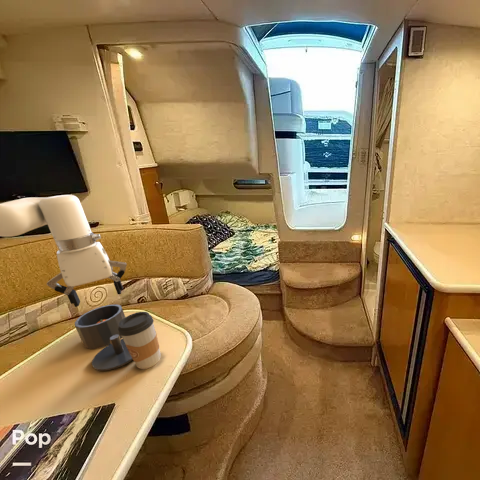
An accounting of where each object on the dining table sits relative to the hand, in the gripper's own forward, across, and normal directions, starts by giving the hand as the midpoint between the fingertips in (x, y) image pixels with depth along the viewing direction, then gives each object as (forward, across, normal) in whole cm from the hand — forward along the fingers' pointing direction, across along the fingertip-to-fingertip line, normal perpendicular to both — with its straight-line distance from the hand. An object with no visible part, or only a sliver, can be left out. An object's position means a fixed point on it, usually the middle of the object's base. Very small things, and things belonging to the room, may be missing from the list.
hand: (99, 298), depth 76 cm
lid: (+20, 0, 0) cm, 20 cm away
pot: (+20, +5, -14) cm, 25 cm away
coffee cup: (+21, -7, +9) cm, 23 cm away
